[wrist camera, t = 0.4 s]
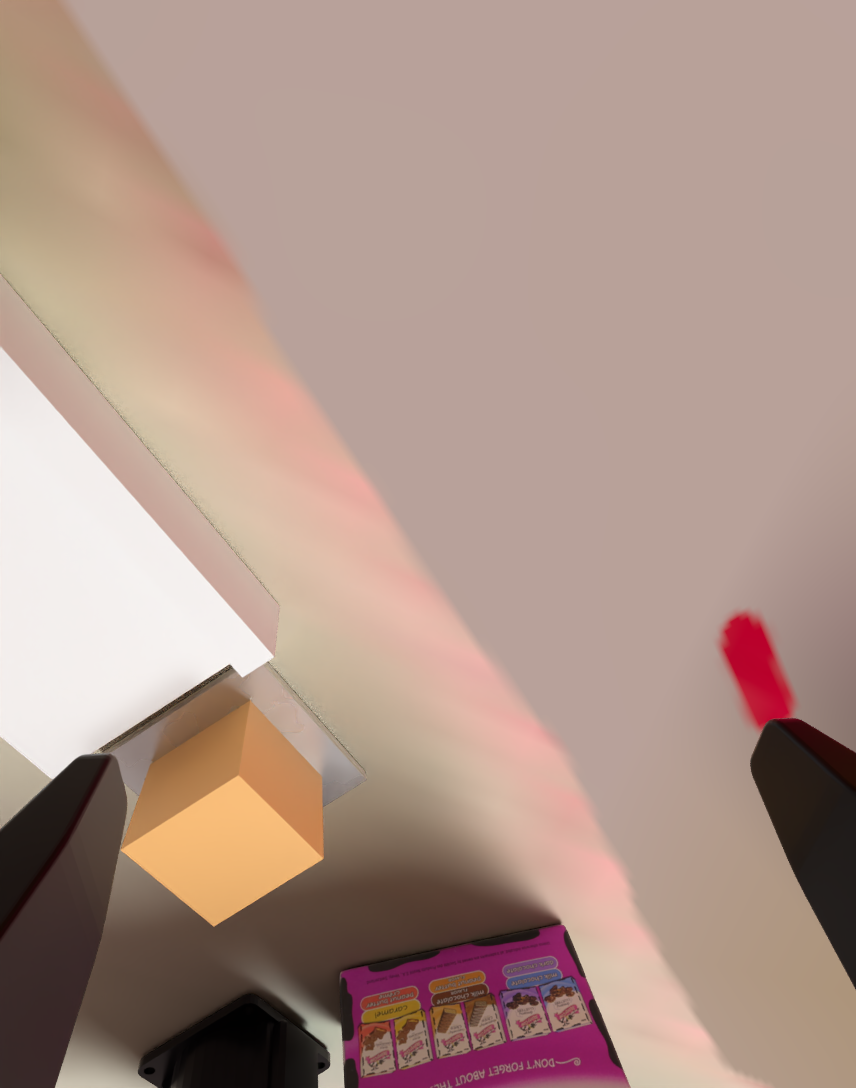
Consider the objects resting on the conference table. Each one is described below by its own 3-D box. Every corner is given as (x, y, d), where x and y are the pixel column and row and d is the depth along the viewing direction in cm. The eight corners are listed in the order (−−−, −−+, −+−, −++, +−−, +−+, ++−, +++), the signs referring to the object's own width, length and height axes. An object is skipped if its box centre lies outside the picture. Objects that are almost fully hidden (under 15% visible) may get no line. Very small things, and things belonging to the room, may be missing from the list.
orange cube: (227, 835, 26) (213, 926, 22) (150, 764, 24) (120, 850, 20) (322, 776, 25) (323, 858, 22) (250, 700, 24) (238, 775, 20)
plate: (224, 859, 27) (222, 869, 26) (102, 751, 24) (98, 760, 23) (365, 771, 26) (366, 779, 26) (257, 651, 24) (257, 658, 23)
